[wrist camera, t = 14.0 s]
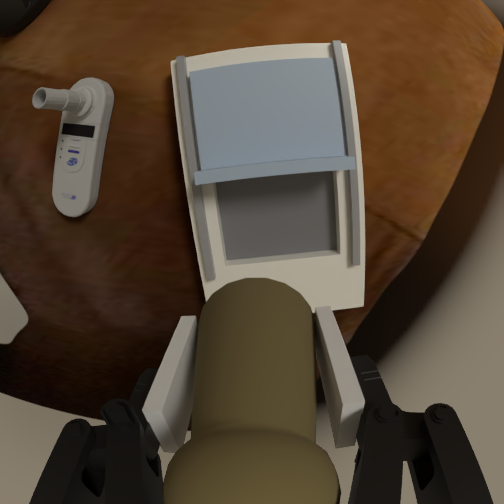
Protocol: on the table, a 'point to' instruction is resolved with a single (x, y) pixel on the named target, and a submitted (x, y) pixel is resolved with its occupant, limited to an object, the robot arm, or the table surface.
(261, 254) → the socket plate
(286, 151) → the panel
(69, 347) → the table surface
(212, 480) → the cork
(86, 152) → the electronic device
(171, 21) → the table surface
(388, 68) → the table surface
